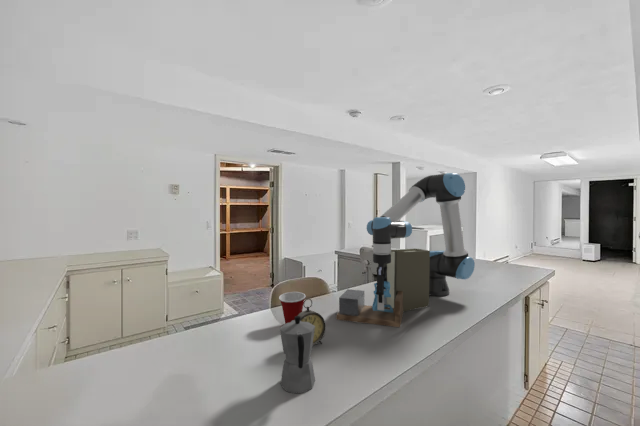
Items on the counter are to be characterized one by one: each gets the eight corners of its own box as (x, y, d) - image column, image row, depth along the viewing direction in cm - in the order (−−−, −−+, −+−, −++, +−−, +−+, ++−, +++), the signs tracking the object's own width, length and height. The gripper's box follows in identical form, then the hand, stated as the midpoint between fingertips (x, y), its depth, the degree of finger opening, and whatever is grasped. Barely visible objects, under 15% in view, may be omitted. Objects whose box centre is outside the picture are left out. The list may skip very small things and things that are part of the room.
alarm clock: (296, 353, 96) (296, 303, 96) (290, 346, 101) (290, 298, 101) (326, 345, 101) (326, 298, 101) (319, 339, 106) (318, 294, 106)
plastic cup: (273, 328, 116) (273, 297, 116) (287, 318, 126) (286, 290, 126) (298, 332, 112) (298, 300, 112) (310, 322, 122) (310, 293, 122)
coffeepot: (279, 372, 85) (278, 309, 85) (311, 368, 87) (311, 307, 86) (282, 407, 70) (281, 330, 70) (321, 402, 71) (320, 327, 71)
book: (415, 302, 150) (416, 247, 150) (430, 308, 142) (430, 249, 142) (382, 308, 140) (382, 249, 140) (395, 314, 132) (396, 251, 132)
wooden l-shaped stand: (403, 313, 132) (402, 291, 131) (400, 327, 116) (399, 301, 116) (346, 307, 140) (345, 286, 140) (336, 319, 125) (336, 295, 125)
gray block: (364, 306, 136) (364, 290, 136) (357, 316, 123) (357, 299, 123) (347, 304, 139) (347, 289, 139) (339, 314, 126) (339, 297, 126)
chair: (371, 306, 131) (371, 279, 131) (390, 306, 130) (390, 279, 130) (373, 312, 123) (373, 283, 123) (393, 312, 123) (393, 283, 122)
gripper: (376, 249, 137) (377, 299, 138) (368, 256, 118) (369, 313, 118) (393, 250, 135) (393, 300, 135) (387, 257, 116) (388, 315, 116)
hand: (382, 306), depth 127 cm, fingers closed on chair, 7 cm apart
